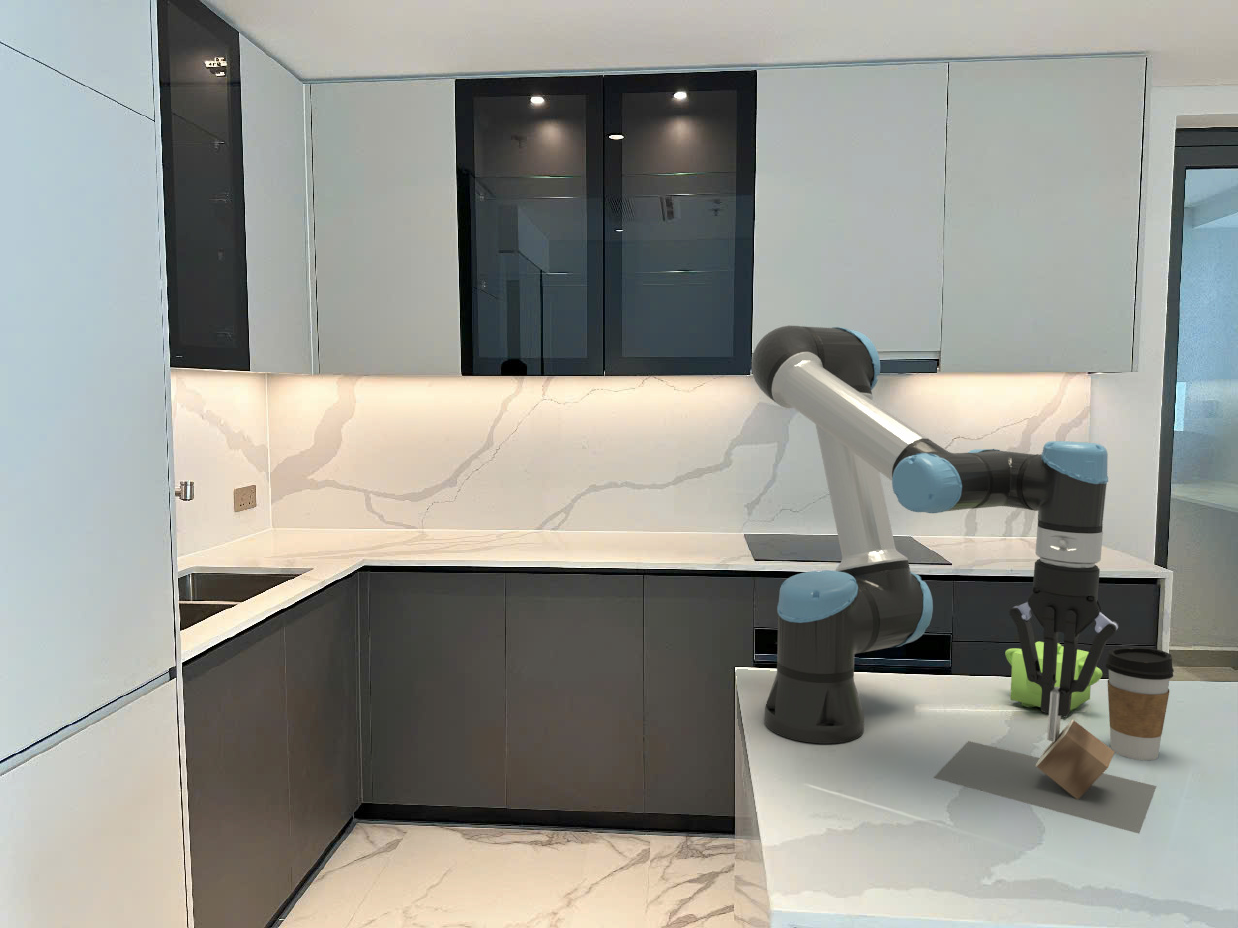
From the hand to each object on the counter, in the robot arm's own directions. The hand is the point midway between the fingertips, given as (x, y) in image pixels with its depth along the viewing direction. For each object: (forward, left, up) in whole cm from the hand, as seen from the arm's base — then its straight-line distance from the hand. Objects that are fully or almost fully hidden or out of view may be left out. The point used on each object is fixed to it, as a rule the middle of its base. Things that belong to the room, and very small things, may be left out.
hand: (1053, 737), depth 116 cm
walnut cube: (0, 0, -1) cm, 1 cm away
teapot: (-7, +33, -7) cm, 34 cm away
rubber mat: (-1, 0, -7) cm, 7 cm away
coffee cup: (+7, +19, -7) cm, 21 cm away
